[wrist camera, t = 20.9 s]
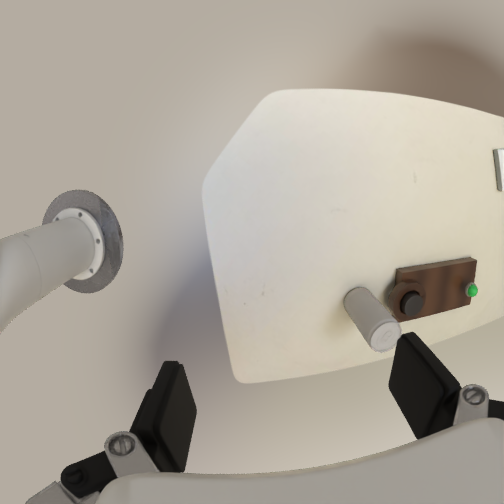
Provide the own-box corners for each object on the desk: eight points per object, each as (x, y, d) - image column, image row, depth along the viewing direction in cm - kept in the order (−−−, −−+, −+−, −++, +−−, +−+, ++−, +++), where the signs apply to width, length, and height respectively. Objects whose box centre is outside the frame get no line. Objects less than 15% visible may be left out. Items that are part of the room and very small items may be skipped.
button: (398, 313, 39) (403, 318, 38) (400, 292, 39) (406, 297, 37) (416, 309, 39) (421, 314, 38) (419, 289, 38) (424, 293, 37)
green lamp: (463, 296, 39) (470, 300, 37) (465, 282, 38) (472, 287, 36) (472, 293, 39) (479, 298, 37) (474, 280, 38) (481, 284, 36)
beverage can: (337, 303, 43) (362, 344, 31) (356, 280, 42) (388, 314, 30) (356, 317, 44) (384, 358, 32) (375, 295, 43) (409, 331, 31)
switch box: (380, 319, 44) (390, 330, 40) (384, 270, 41) (395, 278, 38) (463, 300, 43) (475, 308, 39) (470, 256, 41) (483, 262, 37)
